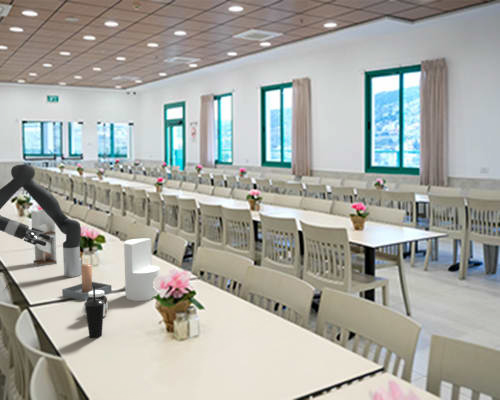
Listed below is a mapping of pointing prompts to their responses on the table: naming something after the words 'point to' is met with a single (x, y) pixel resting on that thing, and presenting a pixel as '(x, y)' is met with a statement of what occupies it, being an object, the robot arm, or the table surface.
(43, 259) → the display case
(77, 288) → the shallow square tray
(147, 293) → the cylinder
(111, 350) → the table surface
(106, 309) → the spread jar
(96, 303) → the drinking cup
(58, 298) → the table surface
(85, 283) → the pillar candle
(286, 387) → the table surface
